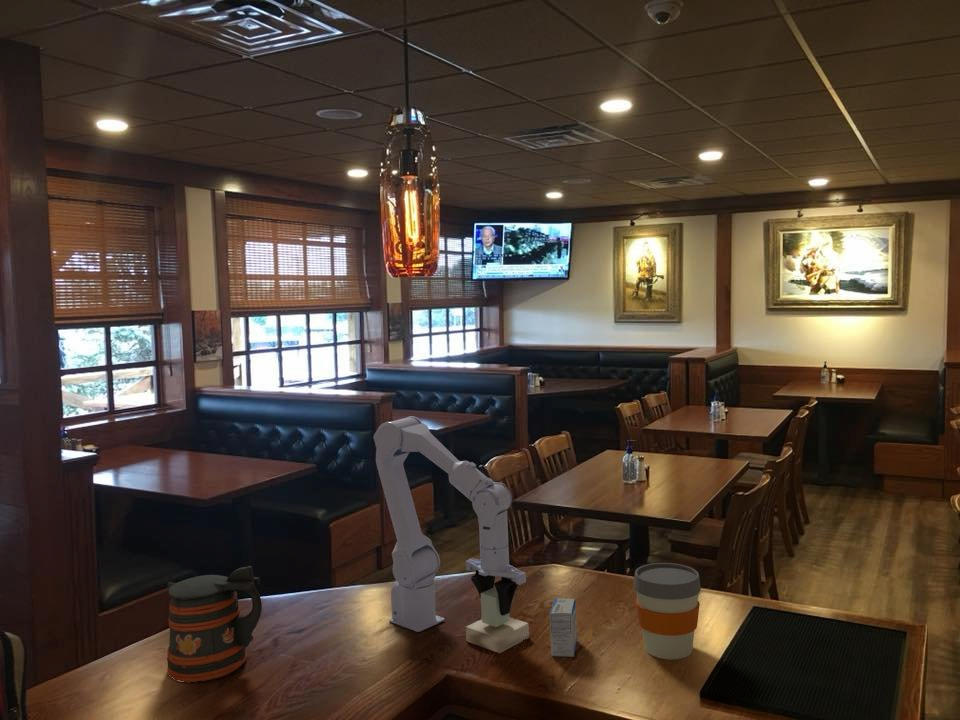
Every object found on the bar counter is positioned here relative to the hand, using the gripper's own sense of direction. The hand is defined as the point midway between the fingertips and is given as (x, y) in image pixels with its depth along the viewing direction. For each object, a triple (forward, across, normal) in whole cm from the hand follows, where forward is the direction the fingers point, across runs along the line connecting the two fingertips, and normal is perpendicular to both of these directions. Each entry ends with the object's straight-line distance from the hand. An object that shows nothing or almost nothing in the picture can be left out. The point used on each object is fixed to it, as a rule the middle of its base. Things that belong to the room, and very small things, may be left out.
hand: (496, 611), depth 161 cm
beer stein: (+6, -35, -42) cm, 55 cm away
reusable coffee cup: (+6, +29, +17) cm, 34 cm away
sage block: (+2, 0, 0) cm, 2 cm away
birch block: (+6, 0, 0) cm, 6 cm away
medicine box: (+6, +13, +5) cm, 15 cm away
